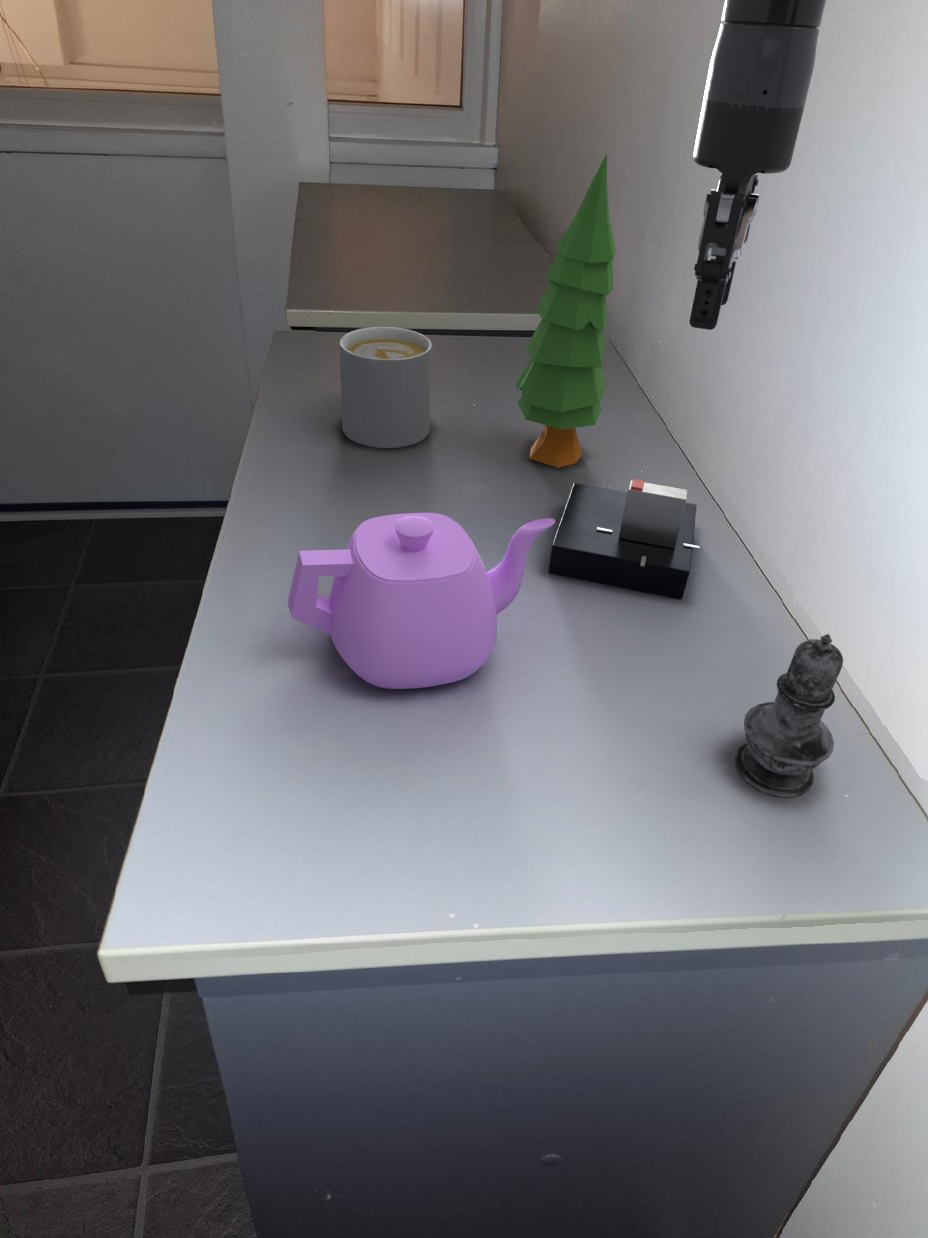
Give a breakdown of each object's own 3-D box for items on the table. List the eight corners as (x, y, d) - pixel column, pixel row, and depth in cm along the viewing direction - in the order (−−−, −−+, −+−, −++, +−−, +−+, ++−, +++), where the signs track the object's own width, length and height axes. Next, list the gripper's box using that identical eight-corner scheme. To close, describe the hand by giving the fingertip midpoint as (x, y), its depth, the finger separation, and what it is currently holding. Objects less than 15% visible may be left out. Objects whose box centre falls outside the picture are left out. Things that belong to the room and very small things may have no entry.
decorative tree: (611, 463, 94) (665, 159, 76) (545, 483, 90) (585, 166, 72) (555, 428, 101) (593, 140, 82) (491, 446, 96) (515, 145, 78)
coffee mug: (436, 445, 95) (440, 358, 89) (347, 450, 93) (344, 361, 87) (416, 396, 106) (417, 315, 99) (335, 399, 104) (331, 316, 97)
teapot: (565, 682, 65) (585, 562, 59) (301, 716, 61) (290, 590, 54) (515, 582, 76) (528, 469, 69) (285, 605, 71) (275, 487, 64)
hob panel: (696, 531, 84) (703, 503, 82) (688, 604, 74) (696, 575, 72) (570, 508, 86) (574, 481, 84) (546, 576, 76) (550, 547, 74)
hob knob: (676, 538, 77) (688, 487, 74) (674, 548, 76) (687, 497, 72) (621, 528, 78) (631, 477, 75) (618, 538, 76) (628, 486, 73)
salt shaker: (744, 726, 63) (791, 594, 55) (825, 759, 60) (886, 626, 53) (720, 777, 59) (767, 642, 51) (806, 814, 56) (869, 679, 49)
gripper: (802, 107, 59) (745, 344, 68) (808, 96, 70) (758, 301, 79) (692, 98, 60) (651, 330, 70) (715, 89, 72) (677, 290, 81)
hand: (708, 314), depth 74 cm, fingers open, 8 cm apart
